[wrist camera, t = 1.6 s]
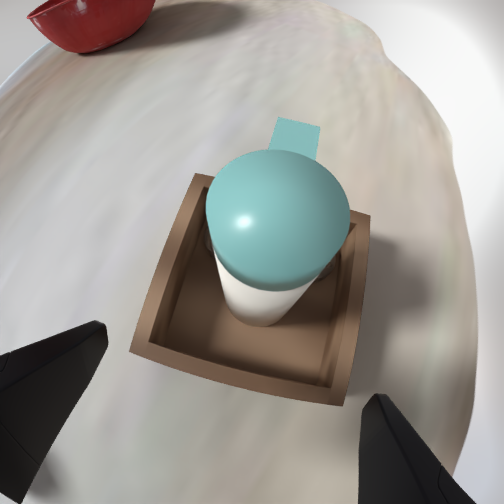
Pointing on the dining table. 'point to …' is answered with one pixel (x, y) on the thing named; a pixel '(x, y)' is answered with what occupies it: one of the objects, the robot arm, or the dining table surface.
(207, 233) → the grey metal puck
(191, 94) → the dining table surface
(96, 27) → the mixing bowl
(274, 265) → the canister
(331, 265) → the silver metal disc
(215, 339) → the brown wooden tray
